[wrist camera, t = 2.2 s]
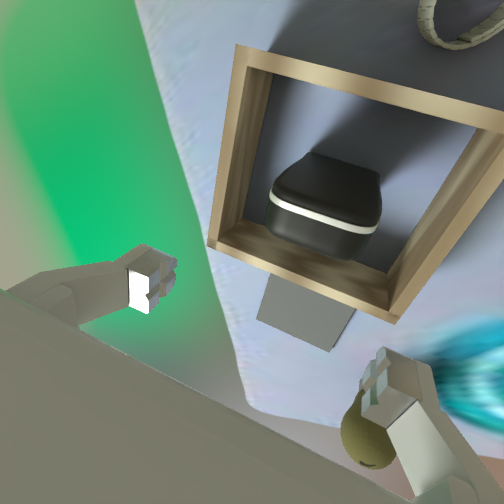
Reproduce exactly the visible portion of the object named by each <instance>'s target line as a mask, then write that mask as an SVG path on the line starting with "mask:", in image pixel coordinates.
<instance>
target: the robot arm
mask: <svg viewBox="0 0 504 504" xmlns="http://www.w3.org/2000/svg"><path fill="white" fill-rule="evenodd" d="M176 266H177V259H176V258H175V257H173V256H171V255H168V254H166V253H164V252H162V251H159V250H157V249H155V248H152V247H150V246H148V245H146V244H140V245H138V246H137V247H135V248H133V249H132V250H130V251H129V252H127V253H126V254H124V255H123V256H121V257H119V258H118V259H116V260H115V261H114V262H111V261H105V262H99V263H93V264H87V265H81V266H75V267H69V268H63V269H57V270H51V271H45V272H40V273H38V274H36V275H34V276H32V277H30V278H28V279H26V280H25V281H23V282H21V283H19V284H17V285H16V286H14V287H12V288H10V289H8V290H6V291H4V290H2V289H0V504H504V491H503V489H502V488H501V487H500V485H499V484H498V483H497V481H496V480H495V479H494V477H493V476H492V475H491V473H490V472H489V471H488V469H487V468H486V466H485V465H484V464H483V462H482V461H481V460H480V458H479V457H478V456H477V454H476V453H475V452H474V450H473V449H472V448H471V446H470V445H469V444H468V442H467V441H466V440H465V438H464V437H463V436H462V434H461V433H460V432H459V430H458V429H457V427H456V426H455V425H454V423H453V422H452V421H451V419H450V418H449V417H448V415H447V414H446V413H445V412H443V411H441V410H440V405H439V401H438V396H437V392H436V387H435V383H434V378H433V374H432V369H431V367H430V366H429V365H427V364H425V363H423V362H420V361H418V360H415V359H412V358H410V357H407V356H405V355H403V354H400V353H398V352H395V351H393V350H391V349H388V348H386V347H381V348H380V349H379V350H378V352H377V353H376V359H375V360H371V361H370V362H369V364H368V365H367V367H366V369H365V372H364V375H363V382H362V387H363V388H364V390H365V392H366V393H365V394H364V396H363V397H362V410H361V416H362V417H364V418H366V419H368V420H370V421H372V422H374V423H376V424H378V425H380V426H382V427H384V428H386V429H387V433H388V435H389V437H390V439H391V442H392V444H393V446H394V448H395V451H396V453H397V455H398V457H399V460H400V462H401V464H402V466H403V469H404V471H405V473H406V475H407V478H408V480H409V482H410V484H411V486H412V489H413V491H414V493H415V495H416V498H414V499H412V500H411V501H409V500H407V499H405V498H403V497H401V496H399V495H397V494H395V493H394V492H391V491H390V490H388V489H386V488H384V487H382V486H380V485H378V484H376V483H374V482H372V481H370V480H369V479H366V478H365V477H363V476H361V475H359V474H357V473H355V472H353V471H351V470H349V469H347V468H345V467H343V466H342V465H339V464H338V463H336V462H334V461H332V460H330V459H328V458H326V457H324V456H322V455H320V454H318V453H316V452H314V451H312V450H311V449H309V448H307V447H305V446H303V445H301V444H299V443H297V442H295V441H293V440H291V439H289V438H287V437H285V436H284V435H282V434H280V433H278V432H276V431H274V430H272V429H270V428H268V427H266V426H264V425H262V424H260V423H258V422H256V421H255V420H253V419H250V418H248V417H247V416H245V415H243V414H241V413H239V412H237V411H235V410H233V409H231V408H229V407H227V406H226V405H224V404H222V403H220V402H218V401H216V400H214V399H212V398H210V397H208V396H206V395H204V394H202V393H201V392H199V391H197V390H195V389H193V388H191V387H189V386H187V385H185V384H183V383H181V382H179V381H177V380H176V379H174V378H172V377H170V376H168V375H166V374H164V373H162V372H160V371H158V370H156V369H154V368H152V367H151V366H148V365H146V364H145V363H143V362H141V361H139V360H137V359H135V358H133V357H131V356H129V355H127V354H125V353H123V352H122V351H120V350H118V349H116V348H114V347H112V346H110V345H108V344H106V343H104V342H102V341H100V340H98V339H97V338H95V337H93V336H91V335H89V334H87V333H85V332H83V331H81V330H80V327H79V325H80V324H83V323H86V322H89V321H91V320H94V319H97V318H99V317H102V316H105V315H107V314H110V313H112V312H115V311H118V310H120V309H123V308H126V307H128V306H129V305H130V306H132V307H134V308H136V309H139V310H141V311H143V312H145V313H149V312H150V311H151V310H152V309H153V308H154V307H155V306H156V305H157V304H158V303H159V298H160V297H164V296H166V295H167V294H168V293H169V292H170V291H171V289H172V288H173V286H174V283H175V280H176V274H175V272H174V270H173V269H174V268H176Z"/></svg>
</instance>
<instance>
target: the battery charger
mask: <svg viewBox="0 0 504 504" xmlns="http://www.w3.org/2000/svg"><path fill="white" fill-rule="evenodd" d="M269 197H270V199H269V203H268V207H267V212H266V217H265V222H266V227H267V229H268V230H269V232H270V233H271V234H272V235H274V236H275V237H277V238H280V239H282V240H284V241H287V242H290V243H292V244H295V245H297V246H300V247H303V248H305V249H308V250H311V251H313V252H316V253H319V254H322V255H325V256H327V257H330V258H333V259H336V260H340V261H349V260H353V259H355V258H356V257H358V256H359V255H360V254H361V253H362V251H363V250H364V248H365V246H366V244H367V242H368V240H369V238H370V236H371V234H372V233H373V232H374V231H375V230H376V228H377V226H378V224H379V222H380V216H381V211H382V198H381V191H380V186H379V173H378V172H375V171H372V170H369V169H365V168H362V167H359V166H356V165H352V164H349V163H346V162H342V161H339V160H336V159H332V158H329V157H325V156H322V155H318V154H315V153H312V152H308V153H307V154H306V155H305V156H304V157H303V158H302V159H300V160H299V161H297V162H296V163H294V164H293V165H291V166H290V167H288V168H287V169H286V170H285V171H284V172H283V173H282V174H281V175H280V176H279V177H278V178H277V179H276V180H275V182H274V184H273V186H272V187H271V190H270V194H269Z"/></svg>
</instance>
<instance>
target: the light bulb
mask: <svg viewBox="0 0 504 504" xmlns="http://www.w3.org/2000/svg"><path fill="white" fill-rule="evenodd" d="M362 382H363V378H362V379H361V380H360V384H359V392H358V394H357V395H356V397H355V400H354V403H353V404H352V406H351V407H350V408H349V410H348V411H347V412H346V414H345V415H344V417H343V420H342V423H341V438H342V442H343V445H344V447H345V449H346V451H347V453H348V454H349V455H350V457H351V458H352V459H353V460H354V461H355V462H357V463H358V464H360V465H361V466H363V467H365V468H368V469H373V470H374V469H382V468H384V467H386V466H388V465H389V464H391V462H392V461H393V460H394V458H395V457H396V454H397V453H396V451H395V448H394V446H393V444H392V442H391V439H390V437H389V435H388V433H387V429H386V428H384V427H382V426H380V425H378V424H376V423H374V422H372V421H370V420H368V419H366V418H364V417H362V416H361V410H362V397H363V396H364V394H365V393H366V392H365V390H364V388H363V387H362Z"/></svg>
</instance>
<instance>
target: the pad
mask: <svg viewBox="0 0 504 504" xmlns="http://www.w3.org/2000/svg"><path fill="white" fill-rule="evenodd" d="M355 309H356V308H353V307H351V306H349V305H346V304H344V303H341V302H339V301H337V300H334V299H332V298H329V297H327V296H325V295H322V294H320V293H318V292H315V291H313V290H310V289H308V288H306V287H303V286H301V285H298V284H296V283H294V282H291V281H289V280H286V279H284V278H282V277H279V276H277V275H275V274H272V273H271V274H270V277H269V280H268V283H267V286H266V290H265V293H264V296H263V299H262V302H261V305H260V308H259V311H258V314H257V317H256V319H257V320H259V321H262V322H264V323H266V324H268V325H270V326H272V327H275V328H277V329H279V330H281V331H283V332H286V333H288V334H290V335H292V336H294V337H296V338H299V339H301V340H303V341H305V342H307V343H310V344H312V345H314V346H316V347H318V348H320V349H323V350H325V351H327V352H330V350H331V349H332V347H333V345H334V344H335V342H336V340H337V339H338V337H339V335H340V334H341V332H342V330H343V329H344V327H345V325H346V324H347V322H348V320H349V319H350V317H351V315H352V314H353V312H354V310H355Z"/></svg>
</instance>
